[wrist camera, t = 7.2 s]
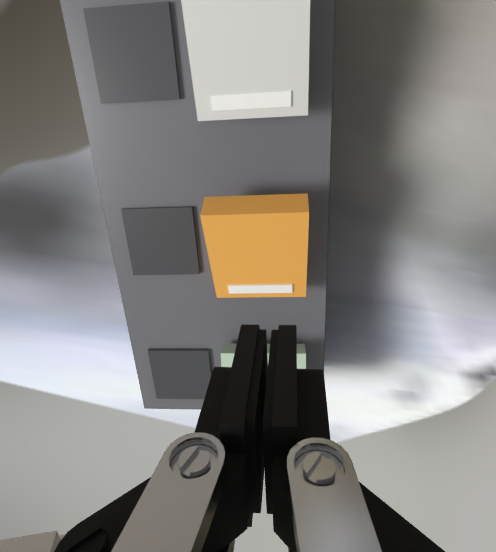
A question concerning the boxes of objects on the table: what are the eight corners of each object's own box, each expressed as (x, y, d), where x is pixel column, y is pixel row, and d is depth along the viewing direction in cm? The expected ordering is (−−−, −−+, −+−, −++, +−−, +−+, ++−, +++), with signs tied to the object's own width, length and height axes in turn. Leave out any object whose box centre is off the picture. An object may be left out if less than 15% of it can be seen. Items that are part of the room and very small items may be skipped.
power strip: (328, -174, 15) (345, -272, 11) (316, 366, 25) (323, 416, 21) (76, -143, 16) (7, -223, 12) (163, 365, 26) (142, 413, 22)
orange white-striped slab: (307, 193, 15) (309, 213, 14) (304, 277, 18) (306, 297, 18) (204, 196, 16) (199, 216, 15) (219, 278, 19) (216, 298, 18)
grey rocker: (309, -49, 12) (311, -52, 11) (306, 106, 15) (308, 116, 14) (183, -38, 13) (175, -39, 12) (202, 112, 15) (197, 121, 14)
